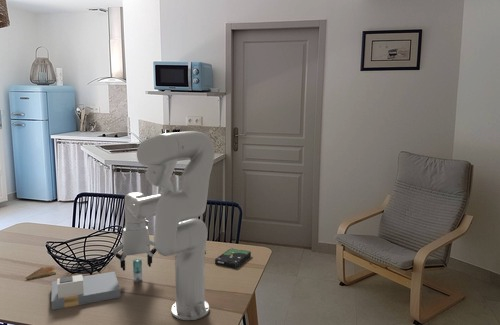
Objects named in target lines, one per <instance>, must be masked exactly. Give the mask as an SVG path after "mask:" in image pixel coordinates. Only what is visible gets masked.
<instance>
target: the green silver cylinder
mask: <svg viewBox="0 0 500 325" xmlns="http://www.w3.org/2000/svg"><path fill="white" fill-rule="evenodd" d="M142 261H143V260H142V259H140V258H137V259H134V260H132V268H133V272H132V273H133V282H134V283H140V282H142V281H143V268H142V267H143V265H142V264H143V263H142Z"/></svg>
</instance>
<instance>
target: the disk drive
mask: <svg viewBox="0 0 500 325" xmlns="http://www.w3.org/2000/svg"><path fill="white" fill-rule="evenodd" d="M250 256H252V252H251V251H249V250H243V249H237V248H233V247H231V248H230V249H228V250H226V251H225V252H223V253H221V254H220V255H219V256H218V257H216V258H215V259H214V265H218V266H223V267H227V268H232V269H237V268H239V265H240V266H241V265H243V264H244V262H246V261H247V260H248V259H250V258H251V257H250ZM246 259H247V260H246ZM245 260H246V261H245Z"/></svg>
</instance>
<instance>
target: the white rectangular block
mask: <svg viewBox="0 0 500 325" xmlns="http://www.w3.org/2000/svg"><path fill="white" fill-rule="evenodd" d="M56 281H57V288H58V298H64V297H70V296H75V295H81V294H84V289H83V274H77V275H71V276H63V277H60V278H57V280H56Z"/></svg>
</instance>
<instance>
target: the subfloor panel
mask: <svg viewBox="0 0 500 325" xmlns="http://www.w3.org/2000/svg"><path fill="white" fill-rule="evenodd" d="M82 277H83V289H84V294H81V295H75V296H70V297H64V298H58V288H57V280H55V281H51V297H50V298H51V300H50V301H51V310H52V311H54V309H55V310H59V309H64V308H71V307H77V306H80V305H85V304H86V305H87V304H92V303H95V302H96V303H97V302H101V301H107V300H111V299H116V298H117V299H118V298H121V287H120V284H119V281H118V279H117V275H116V272H115V271H110V272H109V271H108V272H103V273H97V274H91V275H85V276H83V275H82Z"/></svg>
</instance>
